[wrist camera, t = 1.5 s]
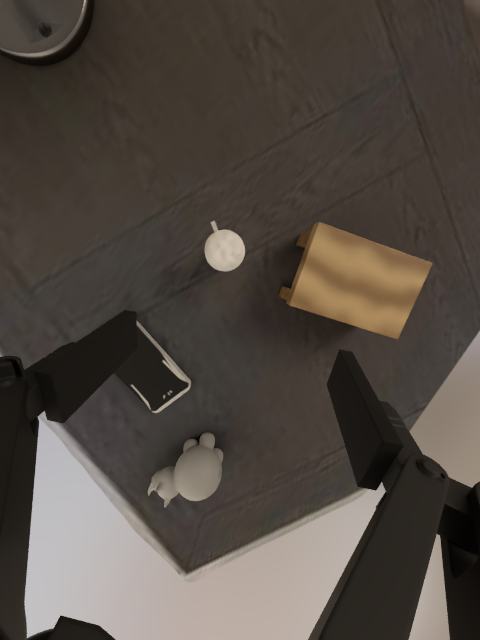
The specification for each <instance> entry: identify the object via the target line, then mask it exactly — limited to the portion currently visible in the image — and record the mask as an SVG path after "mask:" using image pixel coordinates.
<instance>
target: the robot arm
mask: <svg viewBox="0 0 480 640" xmlns="http://www.w3.org/2000/svg"><path fill="white" fill-rule="evenodd" d="M93 7H94V0H0V53H1V54H2V55H4V56H6V57H8V58H10V59H12V60H14V61H17V62H20V63H24V64H28V65H48V64H53V63H56V62H59V61H61V60H63V59H65V58H66V57H68V56H69V55H71V54H72V53H73V52H74V51H75V50H76V49H77V48H78V47H79V45H80V44H81V43H82V41H83V40H84V38H85V36H86V34H87V32H88V29H89V26H90V23H91V19H92V15H93ZM137 348H138V342H137V320H136V312H132V311H127V310H124V311H123V312H121V313H120V314H118V315H117V316H115V317H114V318H112V319H111V320H109V321H108V322H106V323H105V324H103V325H102V326H100V327H99V328H97V329H96V330H94V331H93V332H91V333H90V334H88V335H87V336H85V337H84V338H82V339H81V340H79V341H78V342H76V343H74V342H72V343H69V344H67V345H64V346H61V347H60V348H58V349H57V350H55V351H54V352H53V353H50V354H49V355H47V356H46V358H45V357H44V358H43V359H41V360H40V361H38V362H36V363H35V364H33V365H32V366H30V367H29V368H27V369H25V370H24V369H23V365H22V362H21V359H20V358H18V357H15V356H4V357H0V640H115V639H114V638H113V637H112V636H111V635H109V634H108V633H107V632H106V631H105V630H104V629H102V628H101V627H100V626H98V625H95V624H91V623H87V622H83V621H79V620H76V619H72V618H68V617H64V616H60V618H59V619H58V621H57V624H56V625H55V627H54V629H49V630H46V631H43V632H40V633H37V634H35V635H33V636H31V637H29V638H27V628H26V616H25V608H24V607H25V606H24V598H25V585H26V573H27V560H28V548H29V536H30V525H31V524H30V523H31V512H32V501H33V489H34V477H35V464H36V452H37V438H38V428H39V420H38V416H39V415H40V414H41V413H42V412H43V411H44V410H45V413H46V417H47V420H50V421H55V422H59V423H64V422H65V421H66V420H67V419H68V418H69V417H70V416H71V415H72V414H73V413H74V412H75V411H76V410H77V409H78V408H79V407H80V406H81V405H82V404H83V403H84V402H85V401H86V400H87V399H88V398H89V397H90V396H91V395H92V394H93V393H94V392H95V391H96V390H97V389H98V388H99V387H100V386H101V385H102V384H103V383H104V382H105V381H106V380H107V379H108V378H109V377H110V376H111V375H112V374H113V373H114V372H115V371H116V370H117V369H118V368H119V367H120V366H121V365H122V364H123V363H124V362H125V361H126V360H127V359H128V358H129V357H130V356H131V355H132V354H133V353H134V352H135V351H136V350H137ZM327 387H328V390H329V394H330V397H331V400H332V404H333V407H334V410H335V413H336V417H337V420H338V423H339V427H340V430H341V433H342V437H343V440H344V443H345V446H346V450H347V453H348V456H349V460H350V463H351V466H352V469H353V473H354V476H355V479H356V483H357V486H358V487H362V488H367V489H372V490H377V488H378V487H379V485H380V483H381V482H382V483H383V485H384V488H385V490H386V492H385V494H384V495H383V497H382V498H381V500H380V501H379V503H378V505H377V506H376V510H375V512H374V515H373V516H372V518H371V520H370V522H369V524H368V526H367V528H366V530H365V531H364V533H363V535H362V537H361V539H360V541H359V543H358V545H357V547H356V549H355V551H354V553H353V555H352V557H351V559H350V560H349V562H348V564H347V566H346V568H345V570H344V572H343V574H342V576H341V577H340V579H339V581H338V583H337V585H336V587H335V589H334V591H333V593H332V595H331V597H330V599H329V601H328V603H327V604H326V606H325V608H324V610H323V612H322V614H321V616H320V618H319V620H318V621H317V623H316V625H315V627H314V629H313V631H312V633H311V635H310V637H309V639H308V640H408V639H409V636H410V632H411V628H412V624H413V620H414V617H415V613H416V609H417V605H418V602H419V598H420V594H421V590H422V587H423V583H424V579H425V575H426V572H427V568H428V564H429V560H430V556H431V553H432V549H433V545H434V542H435V538H436V534H438V535H440V538H441V549H442V559H443V570H444V581H445V591H446V601H447V612H448V623H449V633H450V640H480V482H478V483H477V484H475V485H474V487H473V488H471V487H469V486H466V485H464V484H462V483H460V482H457V481H455V480H453V479H451V478H449V477H448V475H447V473H446V471H445V470H444V469H443V468H442V467H441V466H440V465H439V464H438V463H437V462H435V461H434V460H432V459H431V458H429V457H427V456H425V455H423V454H422V452H421V450H420V449H419V447H418V446H417V444H416V442H415V441H414V439H413V437H412V436H411V434H410V432H409V431H408V429H406V426H405V424H404V423H403V422H402V419H401V418H400V416H399V414H398V413H397V411H396V410H395V409H394V408H393V407H392V406H391V405H390V404H389V403H387V402H382V401H379V400H378V398H377V396H376V394H375V392H374V391H373V389H372V387H371V385H370V383H369V382H368V380H367V378H366V376H365V374H364V373H363V371H362V369H361V367H360V365H359V364H358V362H357V360H356V358H355V356H354V355H353V353H352V352H350V351H345V350H339V352H338V355H337V358H336V361H335V363H334V366H333V369H332V371H331V374H330V377H329V380H328V382H327Z"/></svg>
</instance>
